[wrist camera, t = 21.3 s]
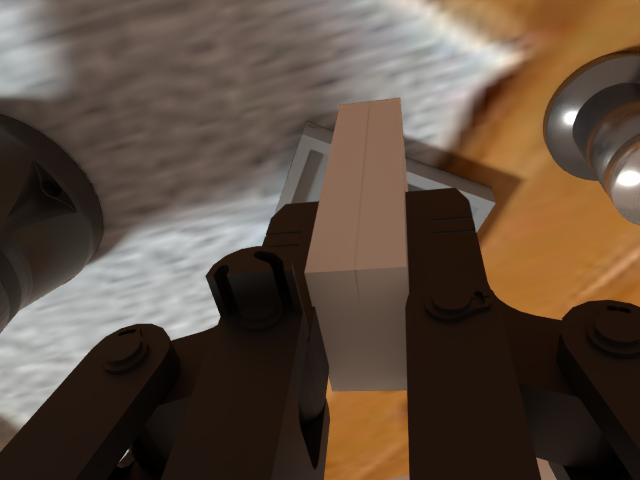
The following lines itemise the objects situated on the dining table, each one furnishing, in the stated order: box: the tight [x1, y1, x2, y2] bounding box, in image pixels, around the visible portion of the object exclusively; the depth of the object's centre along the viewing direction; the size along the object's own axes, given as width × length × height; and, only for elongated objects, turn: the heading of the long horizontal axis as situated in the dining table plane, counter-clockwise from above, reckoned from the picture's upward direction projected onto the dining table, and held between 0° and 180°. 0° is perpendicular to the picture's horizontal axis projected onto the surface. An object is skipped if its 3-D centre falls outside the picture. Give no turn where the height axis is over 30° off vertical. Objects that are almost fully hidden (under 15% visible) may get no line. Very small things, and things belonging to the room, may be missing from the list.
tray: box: [275, 122, 496, 233], centre depth 39 cm, size 14×14×2 cm
